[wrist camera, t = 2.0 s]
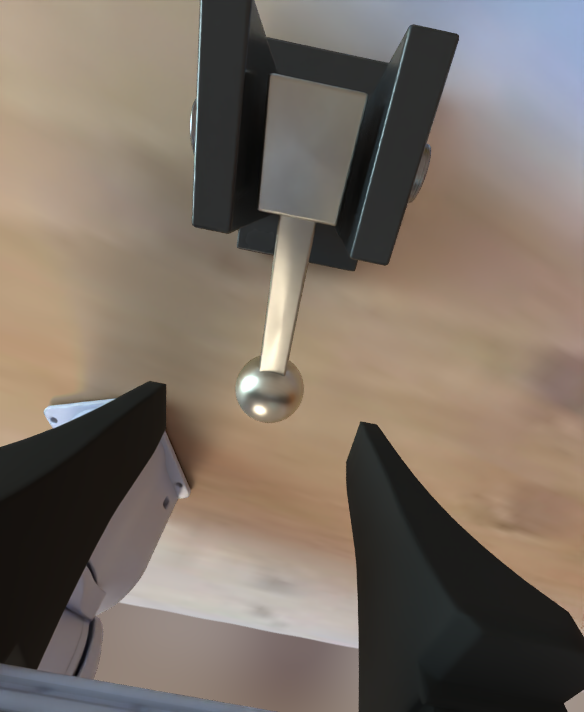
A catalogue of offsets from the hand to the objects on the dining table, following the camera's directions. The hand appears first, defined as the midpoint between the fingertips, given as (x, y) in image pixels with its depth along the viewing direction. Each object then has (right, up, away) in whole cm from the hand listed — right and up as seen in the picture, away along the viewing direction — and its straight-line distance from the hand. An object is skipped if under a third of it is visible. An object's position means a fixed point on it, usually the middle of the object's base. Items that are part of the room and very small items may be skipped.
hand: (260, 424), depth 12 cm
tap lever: (+1, +5, +1) cm, 6 cm away
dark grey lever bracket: (+2, +11, +3) cm, 12 cm away
